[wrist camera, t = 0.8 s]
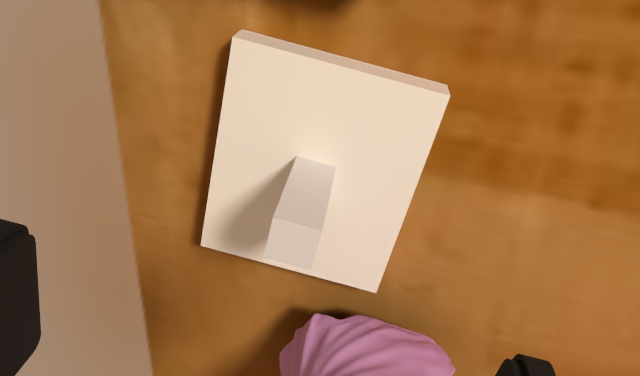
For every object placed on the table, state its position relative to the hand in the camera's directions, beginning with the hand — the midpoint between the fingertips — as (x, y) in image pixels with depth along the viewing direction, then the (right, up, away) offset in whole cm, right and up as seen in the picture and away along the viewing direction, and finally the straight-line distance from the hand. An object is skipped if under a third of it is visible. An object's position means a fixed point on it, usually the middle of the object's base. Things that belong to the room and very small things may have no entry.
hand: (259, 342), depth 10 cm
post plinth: (+1, +4, +23) cm, 23 cm away
